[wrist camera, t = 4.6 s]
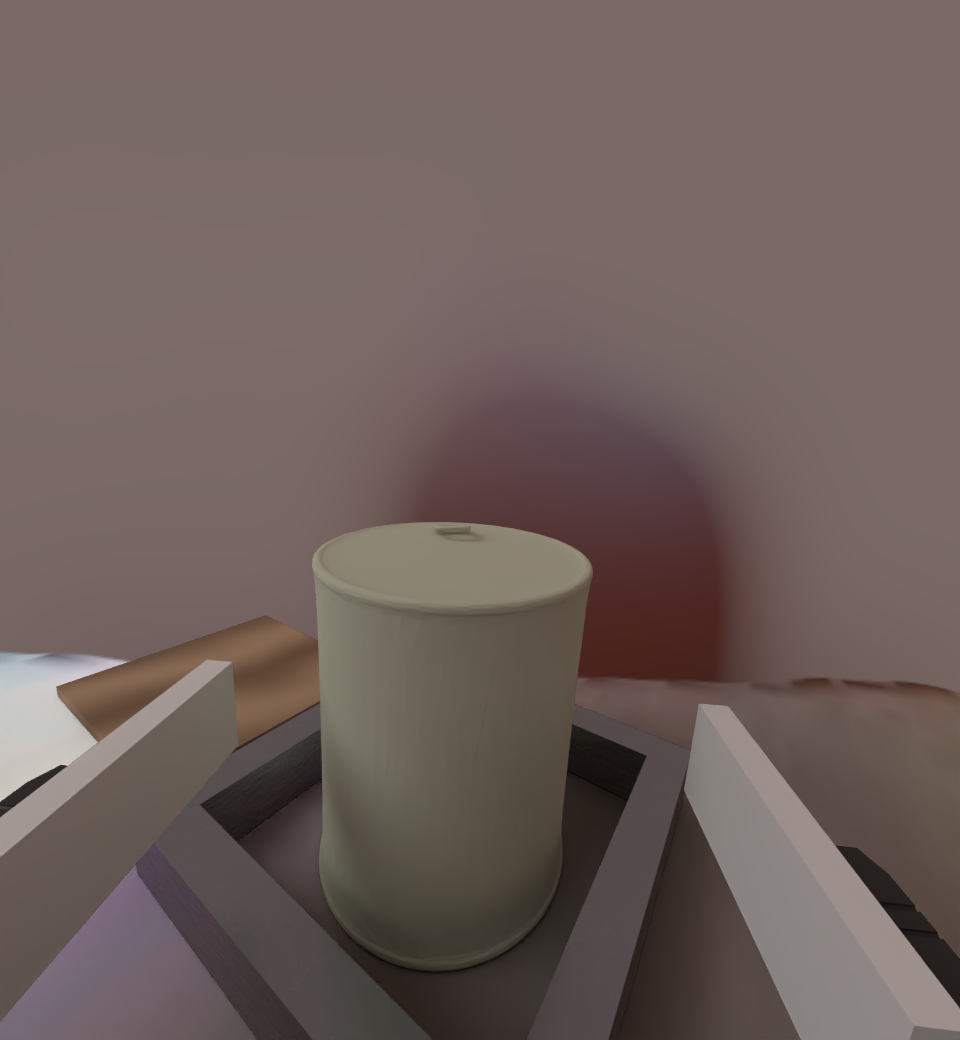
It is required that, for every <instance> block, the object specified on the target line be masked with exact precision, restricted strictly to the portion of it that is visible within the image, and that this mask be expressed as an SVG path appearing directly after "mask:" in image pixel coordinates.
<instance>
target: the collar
mask: <svg viewBox="0 0 960 1040" xmlns="http://www.w3.org/2000/svg"><path fill="white" fill-rule="evenodd" d="M690 752H691V751H690V750H688V749H685V748H683V747H680V746H678V745H675V744H673V743H670V742H668V741H665V740H663V739H660V738H658V737H655V736H653V735H650V734H648V733H645V732H643V731H641V730H638V729H636V728H633V727H631V726H628V725H626V724H623V723H621V722H618V721H616V720H613V719H611V718H608V717H606V716H603V715H601V714H598V713H596V712H593V711H591V710H588V709H586V708H583V707H581V706H578V705H576V704H574V710H573V720H572V729H571V738H570V747H569V756H568V765H567V771H569V772H571V773H573V774H575V775H577V776H579V777H581V778H583V779H585V780H587V781H589V782H592V783H594V784H596V785H598V786H600V787H602V788H604V789H606V790H608V791H610V792H612V793H614V794H616V795H618V796H620V797H622V798H624V799H626V800H628V802H627V804H626V806H625V809H624V811H623V813H622V816H621V818H620V820H619V823H618V825H617V827H616V830H615V832H614V834H613V837H612V839H611V842H610V844H609V846H608V849H607V851H606V853H605V856H604V858H603V860H602V863H601V865H600V867H599V870H598V872H597V874H596V877H595V879H594V881H593V884H592V886H591V889H590V891H589V893H588V896H587V898H586V900H585V903H584V905H583V907H582V910H581V912H580V914H579V917H578V919H577V921H576V924H575V926H574V928H573V931H572V933H571V936H570V938H569V940H568V943H567V945H566V947H565V950H564V952H563V954H562V957H561V959H560V961H559V964H558V966H557V968H556V971H555V973H554V975H553V978H552V980H551V983H550V985H549V987H548V990H547V992H546V994H545V997H544V999H543V1001H542V1004H541V1006H540V1008H539V1011H538V1013H537V1015H536V1018H535V1020H534V1023H533V1025H532V1027H531V1030H530V1032H529V1034H528V1037H527V1039H526V1040H618V1036H619V1032H620V1029H621V1025H622V1021H623V1018H624V1014H625V1010H626V1007H627V1003H628V999H629V996H630V992H631V988H632V985H633V981H634V978H635V974H636V970H637V967H638V963H639V959H640V956H641V952H642V948H643V945H644V941H645V937H646V934H647V930H648V926H649V923H650V919H651V915H652V912H653V908H654V904H655V901H656V897H657V893H658V890H659V886H660V882H661V879H662V875H663V871H664V868H665V864H666V860H667V857H668V853H669V849H670V846H671V842H672V838H673V835H674V831H675V827H676V824H677V820H678V816H679V813H680V809H681V805H682V802H683V797H684V786H685V781H686V775H687V769H688V764H689V758H690ZM321 778H322V751H321V713H320V704H318V705H316V706H314V707H313V708H311V709H309V710H307V711H306V712H304V713H302V714H300V715H299V716H297V717H295V718H293V719H291V720H290V721H288V722H286V723H284V724H283V725H281V726H279V727H277V728H276V729H274V730H272V731H270V732H269V733H267V734H265V735H263V736H262V737H260V738H258V739H256V740H255V741H253V742H251V743H249V744H248V745H246V746H244V747H242V748H241V749H239V750H237V751H235V752H234V753H232V754H230V755H229V756H228V758H227V759H226V760H225V761H224V762H223V763H222V765H221V766H220V767H219V768H218V769H217V770H216V771H215V773H214V774H213V775H212V776H211V777H210V778H209V780H208V781H207V782H206V783H205V784H204V785H203V787H202V788H201V789H200V790H199V791H198V792H197V794H196V795H195V796H194V797H193V798H192V799H191V801H190V802H189V803H188V804H187V805H186V806H185V807H184V809H183V810H182V811H181V812H180V813H179V814H178V816H177V817H176V818H175V819H174V820H173V821H172V823H171V824H170V825H169V826H168V827H167V828H166V830H165V831H164V832H163V833H162V834H161V835H160V837H159V838H158V839H157V840H156V841H155V842H154V843H153V845H152V846H151V847H150V848H149V849H148V850H147V852H146V853H145V854H144V855H143V856H142V857H141V859H140V860H139V861H138V862H137V863H136V868H137V873H138V875H139V876H140V878H141V879H142V880H143V882H144V883H145V884H146V886H147V887H148V889H149V890H150V891H151V893H152V894H153V895H154V897H155V898H156V900H157V901H158V902H159V904H160V905H161V907H162V908H163V909H164V911H165V912H166V913H167V915H168V916H169V918H170V919H171V920H172V922H173V923H174V924H175V926H176V927H177V929H178V930H179V931H180V933H181V934H182V936H183V937H184V938H185V940H186V941H187V942H188V944H189V945H190V947H191V948H192V949H193V951H194V952H195V954H196V955H197V956H198V958H199V959H200V960H201V962H202V963H203V965H204V966H205V967H206V969H207V970H208V971H209V973H210V974H211V976H212V977H213V978H214V980H215V981H216V983H217V984H218V985H219V987H220V988H221V989H222V991H223V992H224V994H225V995H226V996H227V998H228V999H229V1001H230V1002H231V1003H232V1005H233V1006H234V1007H235V1009H236V1010H237V1012H238V1013H239V1014H240V1016H241V1017H242V1018H243V1020H244V1021H245V1023H246V1024H247V1025H248V1027H249V1028H250V1030H251V1031H252V1032H253V1034H254V1035H255V1036H256V1038H257V1039H258V1040H432V1039H431V1038H430V1037H429V1036H428V1035H427V1034H426V1033H425V1031H424V1030H423V1029H422V1028H421V1027H420V1026H419V1025H418V1024H417V1023H416V1022H415V1021H414V1020H413V1019H412V1018H411V1017H410V1016H409V1015H408V1014H407V1013H406V1012H405V1011H404V1010H403V1009H402V1008H401V1007H400V1006H399V1005H398V1004H397V1003H396V1002H395V1001H394V1000H393V999H392V998H391V997H390V996H389V995H388V994H387V993H386V992H385V991H384V990H383V989H382V988H381V987H380V986H379V985H378V984H377V983H376V982H375V981H374V980H373V979H372V978H371V977H370V976H369V975H368V974H367V973H366V972H365V971H364V970H363V969H362V968H361V967H360V966H359V965H358V964H357V963H356V962H355V961H354V960H353V959H352V958H351V957H350V956H349V955H348V954H347V953H346V952H345V951H344V950H343V949H342V948H341V947H340V946H339V945H338V944H337V943H336V942H335V941H334V940H333V939H332V938H331V937H330V936H329V935H328V934H327V933H326V932H325V931H324V930H323V929H322V928H321V927H320V926H319V925H318V924H317V923H316V922H315V921H314V920H313V919H312V917H311V916H310V915H309V914H308V913H307V912H306V911H305V910H304V909H303V908H302V907H301V906H300V905H299V904H298V903H297V902H296V901H295V900H294V899H293V898H292V897H291V896H290V895H289V894H288V893H287V892H286V891H285V890H284V889H283V888H282V887H281V886H280V885H279V884H278V883H277V882H276V881H275V880H274V879H273V878H272V877H271V876H270V875H269V874H268V873H267V872H266V871H265V870H264V869H263V868H262V867H261V866H260V865H259V864H258V863H257V862H256V861H255V860H254V859H253V858H252V857H251V856H250V855H249V854H248V853H247V852H246V851H245V850H244V849H243V848H242V847H241V846H240V845H239V844H238V843H237V842H236V841H237V840H238V839H240V838H241V837H242V836H244V835H245V834H246V833H248V832H249V831H251V830H252V829H253V828H255V827H256V826H257V825H259V824H260V823H261V822H263V821H264V820H266V819H267V818H268V817H270V816H271V815H272V814H274V813H275V812H276V811H278V810H279V809H280V808H282V807H283V806H285V805H286V804H287V803H289V802H290V801H291V800H293V799H294V798H295V797H297V796H298V795H299V794H301V793H302V792H304V791H305V790H306V789H308V788H309V787H310V786H312V785H313V784H314V783H316V782H317V781H319V780H320V779H321Z"/></svg>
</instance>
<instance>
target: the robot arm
mask: <svg viewBox="0 0 960 1040" xmlns="http://www.w3.org/2000/svg"><path fill="white" fill-rule="evenodd" d="M237 746H238V735H237V721H236V706H235V692H234V678H233V664H232V662H227V661H216V660H206V661H204V662H203V663H202V664H201V665H199V666H198V667H197V668H195V669H194V670H193V671H191V672H190V673H189V674H187V675H186V676H185V677H184V678H182V679H181V680H180V681H178V682H177V683H176V684H174V685H173V686H172V687H170V688H169V689H168V690H167V691H165V692H164V693H163V694H161V695H160V696H159V697H157V698H156V699H155V700H153V701H152V702H151V703H149V704H148V705H147V706H146V707H144V708H143V709H142V710H140V711H139V712H138V713H136V714H135V715H134V716H132V717H131V718H130V719H129V720H127V721H126V722H125V723H123V724H122V725H121V726H119V727H118V728H117V729H115V730H114V731H113V732H111V733H110V734H109V735H108V736H106V737H105V738H104V739H102V740H101V741H100V742H98V743H97V744H96V745H94V746H93V747H92V748H91V749H89V750H88V751H87V752H85V753H84V754H83V755H81V756H80V757H79V758H77V759H76V760H75V761H74V762H72V763H71V764H70V765H68V766H65V765H60V766H58V767H56V768H54V769H52V770H50V771H48V772H46V773H44V774H42V775H40V776H38V777H36V778H35V779H33V780H31V781H29V782H27V783H25V784H24V785H23V786H21V787H20V788H19V789H17V790H16V791H15V792H13V793H12V794H10V795H9V796H8V797H6V798H5V799H4V800H2V801H1V802H0V1021H1V1020H2V1019H3V1018H4V1016H5V1015H6V1014H7V1013H8V1012H9V1011H10V1010H11V1008H12V1007H13V1006H14V1005H15V1004H16V1003H17V1001H18V1000H19V999H20V998H21V997H22V996H23V994H24V993H25V992H26V991H27V990H28V989H29V987H30V986H31V985H32V984H33V983H34V982H35V980H36V979H37V978H38V977H39V976H40V975H41V974H42V972H43V971H44V970H45V969H46V968H47V967H48V965H49V964H50V963H51V962H52V961H53V960H54V958H55V957H56V956H57V955H58V954H59V953H60V951H61V950H62V949H63V948H64V947H65V946H66V944H67V943H68V942H69V941H70V940H71V939H72V938H73V936H74V935H75V934H76V933H77V932H78V931H79V929H80V928H81V927H82V926H83V925H84V924H85V922H86V921H87V920H88V919H89V918H90V917H91V915H92V914H93V913H94V912H95V911H96V910H97V908H98V907H99V906H100V905H101V904H102V903H103V902H104V900H105V899H106V898H107V897H108V896H109V895H110V893H111V892H112V891H113V890H114V889H115V888H116V886H117V885H118V884H119V883H120V882H121V881H122V879H123V878H124V877H125V876H126V875H127V874H128V873H129V871H130V870H131V869H132V868H133V867H134V866H135V864H136V863H137V862H138V861H139V860H140V859H141V857H142V856H143V855H144V854H145V853H146V852H147V850H148V849H149V848H150V847H151V846H152V845H153V843H154V842H155V841H156V840H157V839H158V838H159V837H160V835H161V834H162V833H163V832H164V831H165V830H166V828H167V827H168V826H169V825H170V824H171V823H172V821H173V820H174V819H175V818H176V817H177V816H178V814H179V813H180V812H181V811H182V810H183V809H184V807H185V806H186V805H187V804H188V803H189V802H190V801H191V799H192V798H193V797H194V796H195V795H196V794H197V792H198V791H199V790H200V789H201V788H202V787H203V785H204V784H205V783H206V782H207V781H208V780H209V778H210V777H211V776H212V775H213V774H214V773H215V771H216V770H217V769H218V768H219V767H220V766H221V765H222V763H223V762H224V761H225V760H226V759H227V758H228V756H229V755H230V754H231V753H232V752H233V751H234V749H235V748H236V747H237ZM684 791H685V794H686V796H687V798H688V800H689V802H690V804H691V806H692V808H693V811H694V813H695V815H696V817H697V819H698V821H699V823H700V826H701V828H702V830H703V832H704V834H705V836H706V838H707V840H708V843H709V845H710V847H711V849H712V851H713V853H714V855H715V858H716V860H717V862H718V864H719V866H720V868H721V870H722V872H723V875H724V877H725V879H726V881H727V883H728V885H729V887H730V890H731V892H732V894H733V896H734V898H735V900H736V902H737V905H738V907H739V909H740V911H741V913H742V915H743V917H744V919H745V922H746V924H747V926H748V928H749V930H750V932H751V934H752V937H753V939H754V941H755V943H756V945H757V947H758V949H759V951H760V954H761V956H762V958H763V960H764V962H765V964H766V966H767V969H768V971H769V973H770V975H771V977H772V979H773V981H774V984H775V986H776V988H777V990H778V992H779V994H780V996H781V998H782V1001H783V1003H784V1005H785V1007H786V1009H787V1011H788V1013H789V1016H790V1018H791V1020H792V1022H793V1024H794V1026H795V1028H796V1030H797V1033H798V1035H799V1037H800V1039H801V1040H960V959H959V958H958V956H957V955H956V954H955V953H954V952H953V950H952V949H951V948H950V947H949V946H948V944H947V943H946V942H945V941H944V940H943V939H940V938H939V937H938V935H937V931H936V930H935V929H934V928H933V927H932V925H931V924H930V923H929V922H928V921H927V919H926V918H925V917H924V916H923V915H922V913H921V912H917V911H916V909H915V905H914V904H913V903H912V901H911V900H910V899H909V898H908V897H907V896H906V894H905V893H904V892H903V891H902V890H901V888H900V887H899V886H898V885H897V884H896V882H895V881H894V880H893V879H892V878H891V876H890V875H889V874H888V873H886V872H885V871H884V870H883V869H882V868H880V867H879V866H878V865H877V864H876V863H874V862H873V861H872V860H871V859H869V858H868V857H867V856H866V855H865V854H863V853H862V852H861V851H860V850H859V849H857V848H853V847H843V846H835V845H834V844H833V842H832V841H831V840H830V838H829V837H828V836H827V834H826V833H825V832H824V831H823V829H822V828H821V827H820V825H819V824H818V823H817V821H816V820H815V819H814V818H813V816H812V815H811V814H810V812H809V811H808V810H807V808H806V807H805V806H804V804H803V803H802V802H801V801H800V799H799V798H798V797H797V795H796V794H795V793H794V791H793V790H792V789H791V788H790V786H789V785H788V784H787V782H786V781H785V780H784V778H783V777H782V776H781V774H780V773H779V772H778V771H777V769H776V768H775V767H774V765H773V764H772V763H771V761H770V760H769V759H768V758H767V756H766V755H765V754H764V752H763V751H762V750H761V748H760V747H759V746H758V744H757V743H756V742H755V741H754V739H753V738H752V737H751V735H750V734H749V733H748V731H747V730H746V729H745V727H744V726H743V725H742V724H741V722H740V721H739V720H738V718H737V717H736V716H735V714H734V713H733V712H732V711H731V709H730V708H729V707H728V706H720V705H709V704H699V707H698V712H697V718H696V724H695V729H694V735H693V741H692V747H691V752H690V758H689V764H688V769H687V775H686V781H685V786H684Z"/></svg>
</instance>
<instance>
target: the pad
mask: <svg viewBox="0 0 960 1040" xmlns="http://www.w3.org/2000/svg"><path fill="white" fill-rule="evenodd" d="M206 660H216V661H227V662H232V664H233V678H234V692H235V706H236V721H237V735H238V746H237V747H236V748H235V749H234V751H233V752H232V753H234V752H235V751H237V750H239V749H241V748H242V747H244V746H246V745H248V744H249V743H251V742H253V741H255V740H256V739H258V738H260V737H262V736H263V735H265V734H267V733H269V732H270V731H272V730H274V729H276V728H277V727H279V726H281V725H283V724H284V723H286V722H288V721H290V720H291V719H293V718H295V717H297V716H299V715H300V714H302V713H304V712H306V711H307V710H309V709H311V708H313V707H314V706H316V705H318V704H320V680H319V652H318V640H316V639H314V638H312V637H310V636H308V635H306V634H304V633H301V632H299V631H297V630H295V629H293V628H291V627H289V626H287V625H285V624H283V623H280V622H278V621H276V620H274V619H272V618H270V617H268V616H263V617H260V618H257V619H254V620H251V621H248V622H245V623H243V624H239V625H236V626H233V627H231V628H227V629H225V630H222V631H219V632H216V633H213V634H210V635H207V636H204V637H201V638H198V639H195V640H192V641H189V642H186V643H183V644H180V645H177V646H175V647H172V648H169V649H166V650H163V651H160V652H157V653H154V654H151V655H148V656H145V657H142V658H139V659H136V660H134V661H130V662H127V663H125V664H122V665H119V666H116V667H113V668H110V669H107V670H104V671H101V672H98V673H95V674H92V675H89V676H86V677H83V678H80V679H77V680H75V681H72V682H69V683H66V684H63V685H60V686H57V687H56V688H57V694H58V697H59V698H60V699H61V701H62V702H63V703H64V704H65V705H66V706H67V707H68V709H69V710H70V711H71V712H72V713H73V714H74V715H75V717H76V718H77V719H78V720H79V721H80V722H81V723H82V724H83V726H84V727H85V728H86V729H87V730H88V731H89V732H90V734H91V735H92V736H93V737H94V738H95V739H96V740H97V742H100V741H101V740H102V739H104V738H105V737H106V736H108V735H109V734H110V733H111V732H113V731H114V730H115V729H117V728H118V727H119V726H121V725H122V724H123V723H125V722H126V721H127V720H129V719H130V718H131V717H132V716H134V715H135V714H136V713H138V712H139V711H140V710H142V709H143V708H144V707H146V706H147V705H148V704H149V703H151V702H152V701H153V700H155V699H156V698H157V697H159V696H160V695H161V694H163V693H164V692H165V691H167V690H168V689H169V688H170V687H172V686H173V685H174V684H176V683H177V682H178V681H180V680H181V679H182V678H184V677H185V676H186V675H187V674H189V673H190V672H191V671H193V670H194V669H195V668H197V667H198V666H199V665H201V664H202V663H203V662H204V661H206ZM232 753H231V754H232Z"/></svg>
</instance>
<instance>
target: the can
mask: <svg viewBox="0 0 960 1040" xmlns="http://www.w3.org/2000/svg"><path fill="white" fill-rule="evenodd" d="M312 568H313V572H314V578H315V588H316V603H317V621H318V622H317V623H318V652H319V680H320V713H321V751H322V793H323V829H322V836H321V841H320V849H319V874H320V880H321V885H322V889H323V893H324V896H325V898H326V901H327V903H328V905H329V908H330V910H331V912H332V913H333V915H334V917H335V918H336V920H337V921H338V923H339V924H340V925H341V927H342V928H343V929H344V931H345V932H346V933H347V934H348V935H349V936H350V937H351V938H352V939H353V940H354V941H355V942H356V943H357V944H359V945H360V946H361V947H363V948H364V949H366V950H367V951H369V952H370V953H372V954H373V955H375V956H377V957H378V958H380V959H383V960H385V961H387V962H389V963H391V964H395V965H398V966H401V967H405V968H409V969H414V970H422V971H434V972H435V971H453V970H458V969H463V968H469V967H472V966H474V965H477V964H480V963H483V962H486V961H489V960H491V959H493V958H495V957H497V956H498V955H500V954H502V953H504V952H506V951H507V950H509V949H511V948H512V947H513V946H515V945H516V944H517V943H518V942H520V941H521V940H522V939H523V938H524V937H525V936H526V935H527V934H528V933H529V932H530V931H531V930H532V929H533V928H534V927H535V926H536V924H537V923H538V922H539V921H540V919H541V918H542V917H543V915H544V913H545V912H546V910H547V908H548V907H549V905H550V903H551V901H552V899H553V897H554V894H555V892H556V889H557V886H558V882H559V879H560V874H561V868H562V858H563V845H562V836H561V829H562V816H563V804H564V794H565V784H566V775H567V765H568V756H569V747H570V738H571V729H572V720H573V710H574V701H575V692H576V683H577V675H578V667H579V659H580V651H581V643H582V635H583V628H584V620H585V612H586V604H587V597H588V592H589V586H590V582H591V579H592V575H593V570H592V566H591V563H590V562H589V560H588V559H587V558H586V557H585V556H584V555H583V554H582V553H581V552H579V551H578V550H576V549H575V548H573V547H571V546H569V545H567V544H565V543H563V542H560V541H558V540H555V539H552V538H549V537H545V536H542V535H539V534H535V533H531V532H527V531H522V530H517V529H512V528H505V527H499V526H491V525H482V524H471V523H452V522H451V523H450V522H427V523H425V522H424V523H406V524H405V523H404V524H395V525H386V526H379V527H373V528H367V529H363V530H358V531H354V532H351V533H348V534H345V535H342V536H340V537H337V538H334V539H332V540H330V541H329V542H327V543H325V544H324V545H323V546H321V547H320V548H319V549H318V550H317V551H316V553H315V555H314V557H313V561H312Z"/></svg>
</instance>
